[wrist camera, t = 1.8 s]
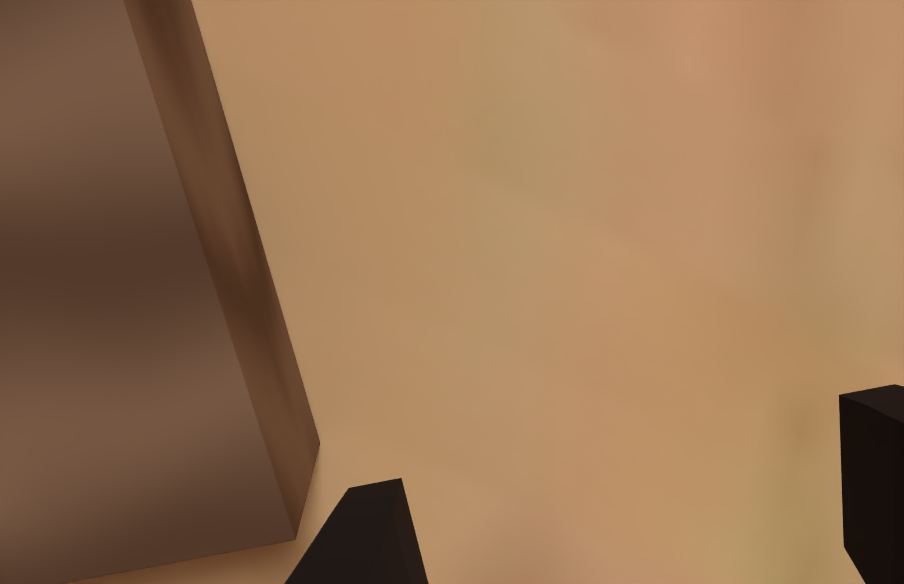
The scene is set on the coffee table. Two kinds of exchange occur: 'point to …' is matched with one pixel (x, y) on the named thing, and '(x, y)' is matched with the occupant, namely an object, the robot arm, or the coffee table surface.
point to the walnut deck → (133, 306)
